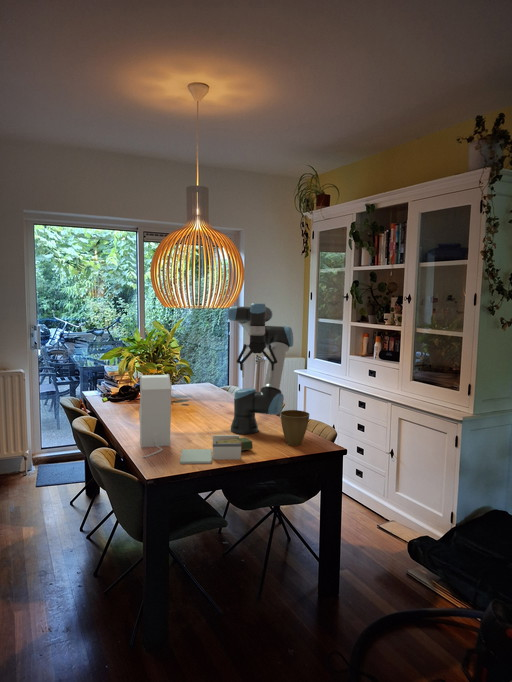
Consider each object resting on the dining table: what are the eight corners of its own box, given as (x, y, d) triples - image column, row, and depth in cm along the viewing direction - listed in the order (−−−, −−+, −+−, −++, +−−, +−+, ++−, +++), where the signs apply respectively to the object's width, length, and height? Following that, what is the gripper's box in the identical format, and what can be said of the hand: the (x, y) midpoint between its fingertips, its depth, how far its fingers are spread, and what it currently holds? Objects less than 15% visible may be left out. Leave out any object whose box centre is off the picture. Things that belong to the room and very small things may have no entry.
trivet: (182, 451, 239) (182, 449, 239) (211, 451, 240) (211, 449, 240) (179, 463, 221) (179, 461, 221) (211, 463, 223) (211, 461, 222)
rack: (212, 447, 247) (212, 432, 246) (238, 446, 248) (239, 432, 247) (212, 459, 228) (212, 444, 227) (240, 459, 229) (241, 444, 228)
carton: (215, 449, 241) (215, 440, 241) (245, 444, 248) (245, 436, 248) (222, 454, 234) (222, 445, 234) (252, 449, 241) (252, 440, 241)
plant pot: (273, 443, 255) (274, 412, 254) (292, 438, 265) (293, 408, 264) (295, 450, 244) (296, 418, 243) (314, 444, 255) (315, 413, 254)
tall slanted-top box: (166, 436, 264) (166, 371, 261) (174, 456, 231) (174, 382, 228) (138, 438, 260) (138, 371, 257) (142, 459, 227) (142, 383, 224)
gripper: (232, 334, 242) (231, 378, 243) (283, 335, 244) (282, 378, 246) (231, 333, 249) (231, 375, 251) (281, 334, 251) (280, 376, 253)
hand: (256, 377), depth 248 cm, fingers open, 13 cm apart
